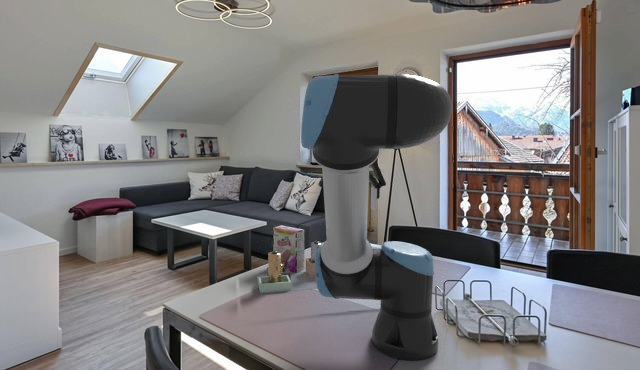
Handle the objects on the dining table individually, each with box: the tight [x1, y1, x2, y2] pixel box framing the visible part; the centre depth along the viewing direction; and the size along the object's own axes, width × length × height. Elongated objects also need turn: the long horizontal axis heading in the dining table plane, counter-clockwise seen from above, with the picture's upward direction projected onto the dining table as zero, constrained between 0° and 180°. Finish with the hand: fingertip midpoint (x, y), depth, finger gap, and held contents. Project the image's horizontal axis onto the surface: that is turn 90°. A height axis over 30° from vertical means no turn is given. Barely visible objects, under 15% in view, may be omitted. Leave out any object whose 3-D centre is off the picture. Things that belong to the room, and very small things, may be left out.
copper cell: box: [267, 250, 281, 283], centre depth 118 cm, size 4×4×12 cm
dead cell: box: [310, 240, 323, 263], centre depth 130 cm, size 4×4×12 cm
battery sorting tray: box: [256, 257, 318, 295], centre depth 124 cm, size 16×24×6 cm, turn 104°
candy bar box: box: [272, 225, 305, 273], centre depth 136 cm, size 11×5×16 cm, turn 56°
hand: (352, 210), depth 111 cm, fingers open, 13 cm apart
